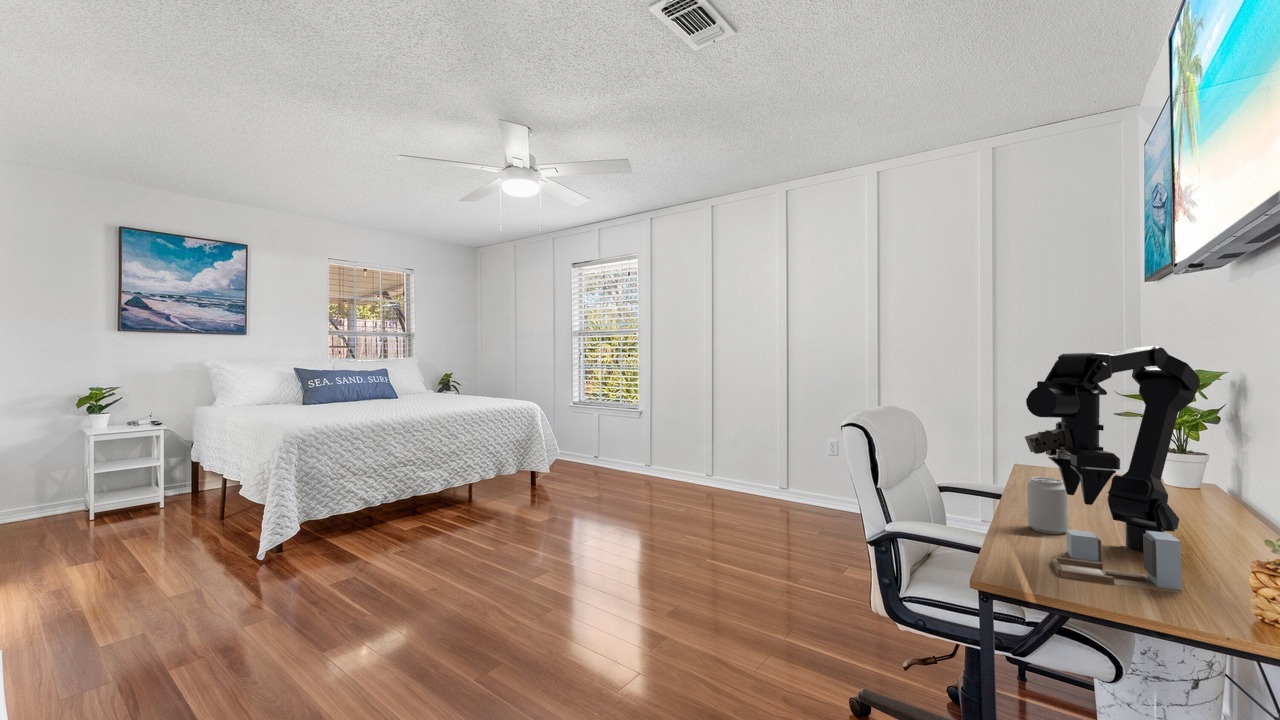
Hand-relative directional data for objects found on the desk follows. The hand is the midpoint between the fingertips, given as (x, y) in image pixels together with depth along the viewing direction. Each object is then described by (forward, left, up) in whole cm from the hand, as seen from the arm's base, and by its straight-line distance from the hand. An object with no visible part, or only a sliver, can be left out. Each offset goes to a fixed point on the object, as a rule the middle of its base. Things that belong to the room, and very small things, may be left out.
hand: (1078, 499), depth 104 cm
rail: (+8, +3, -13) cm, 15 cm away
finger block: (-2, +1, -13) cm, 13 cm away
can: (-25, -1, -13) cm, 28 cm away
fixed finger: (+8, +10, -11) cm, 17 cm away
